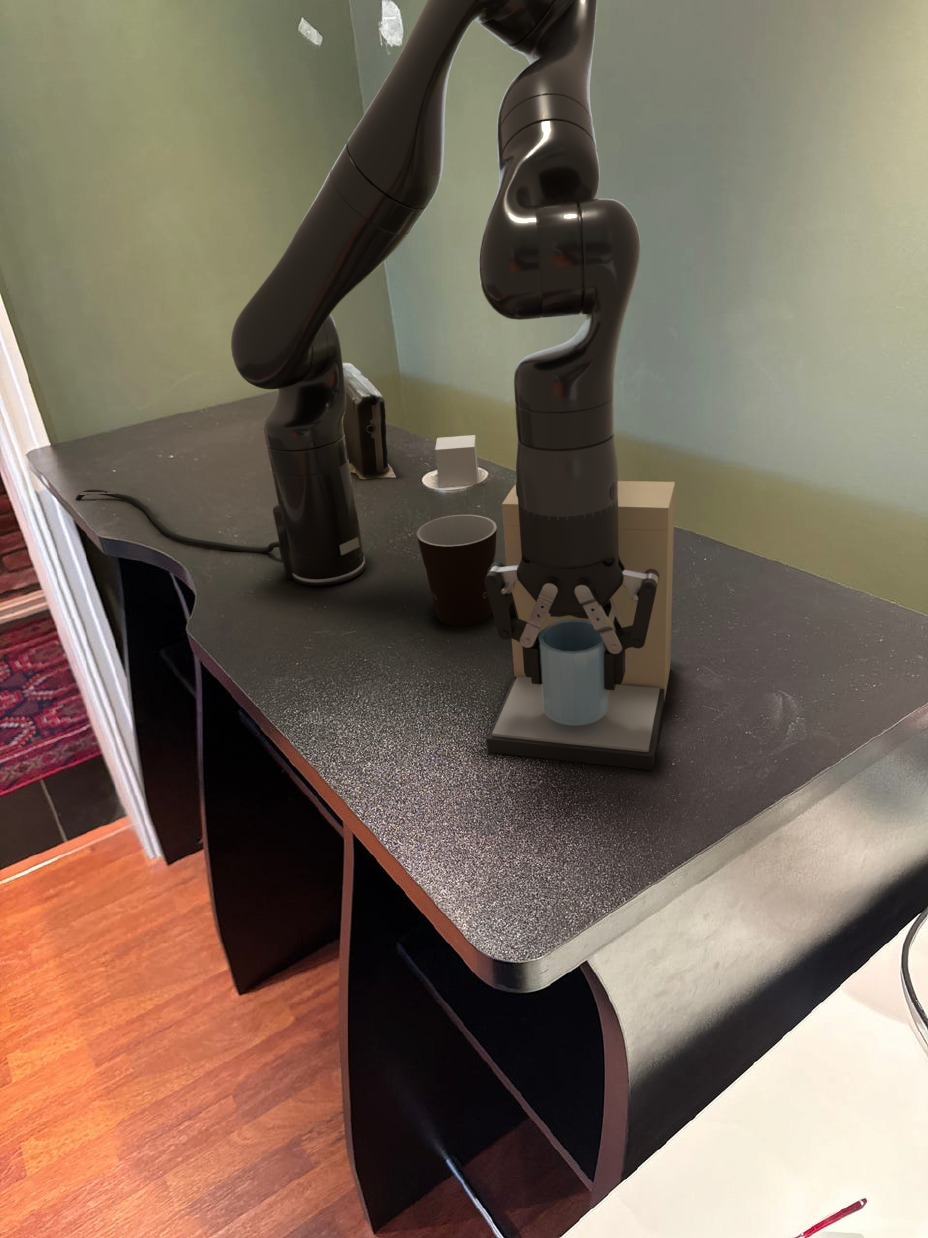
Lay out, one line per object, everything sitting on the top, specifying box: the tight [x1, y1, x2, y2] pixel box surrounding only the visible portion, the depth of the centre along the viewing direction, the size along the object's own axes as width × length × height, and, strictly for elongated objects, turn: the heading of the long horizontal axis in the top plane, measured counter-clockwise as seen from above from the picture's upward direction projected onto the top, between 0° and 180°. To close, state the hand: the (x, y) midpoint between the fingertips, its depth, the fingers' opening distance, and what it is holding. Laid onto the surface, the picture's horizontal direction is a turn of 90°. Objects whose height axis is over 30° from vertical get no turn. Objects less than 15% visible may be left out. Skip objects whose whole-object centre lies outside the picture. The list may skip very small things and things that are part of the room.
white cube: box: [434, 434, 479, 488], centre depth 137 cm, size 6×6×6 cm
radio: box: [342, 362, 397, 480], centre depth 148 cm, size 23×9×15 cm, turn 12°
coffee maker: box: [486, 480, 676, 771], centre depth 76 cm, size 14×16×19 cm
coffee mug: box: [416, 514, 498, 627], centre depth 98 cm, size 12×9×10 cm
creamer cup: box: [538, 619, 609, 726], centre depth 74 cm, size 6×6×7 cm
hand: (574, 681), depth 75 cm, fingers closed on creamer cup, 5 cm apart
